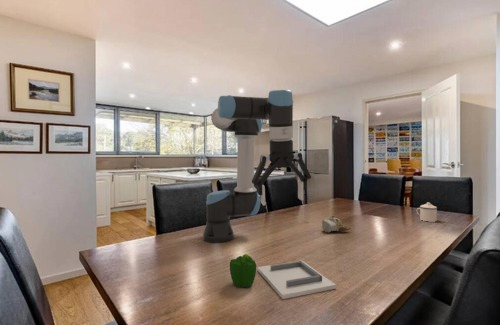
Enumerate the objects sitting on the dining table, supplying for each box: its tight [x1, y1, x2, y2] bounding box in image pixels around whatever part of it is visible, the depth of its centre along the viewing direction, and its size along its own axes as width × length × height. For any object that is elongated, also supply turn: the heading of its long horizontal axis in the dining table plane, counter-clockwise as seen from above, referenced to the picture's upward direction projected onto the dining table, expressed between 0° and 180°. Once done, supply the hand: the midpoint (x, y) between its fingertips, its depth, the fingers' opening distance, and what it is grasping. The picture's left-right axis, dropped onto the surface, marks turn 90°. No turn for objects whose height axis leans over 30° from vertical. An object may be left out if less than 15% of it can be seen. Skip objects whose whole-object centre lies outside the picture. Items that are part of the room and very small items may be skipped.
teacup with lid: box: [416, 201, 438, 223], centre depth 167 cm, size 12×9×12 cm
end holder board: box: [257, 260, 337, 300], centre depth 86 cm, size 20×18×3 cm
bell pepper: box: [229, 253, 257, 288], centre depth 83 cm, size 8×8×10 cm
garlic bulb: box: [321, 215, 351, 234], centre depth 143 cm, size 11×9×15 cm
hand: (282, 201), depth 89 cm, fingers open, 13 cm apart
